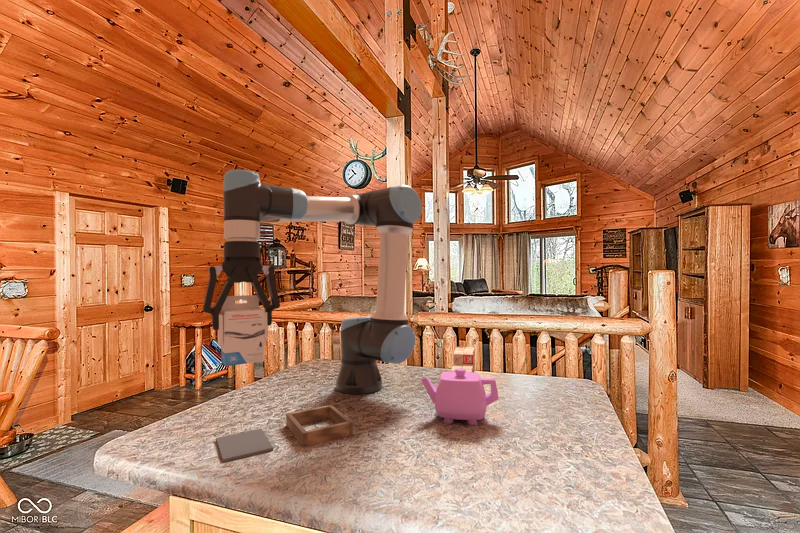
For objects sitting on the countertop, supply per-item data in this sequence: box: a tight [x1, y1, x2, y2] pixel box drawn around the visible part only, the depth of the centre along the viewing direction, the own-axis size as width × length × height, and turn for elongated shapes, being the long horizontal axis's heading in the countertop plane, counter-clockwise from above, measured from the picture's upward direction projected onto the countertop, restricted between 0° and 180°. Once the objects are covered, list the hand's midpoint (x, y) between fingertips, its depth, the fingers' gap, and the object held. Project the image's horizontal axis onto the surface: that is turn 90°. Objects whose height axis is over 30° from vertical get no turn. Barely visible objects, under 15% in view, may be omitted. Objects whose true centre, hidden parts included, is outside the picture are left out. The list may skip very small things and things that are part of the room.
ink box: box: [220, 294, 266, 367], centre depth 88 cm, size 8×5×15 cm, turn 123°
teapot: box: [420, 368, 499, 426], centre depth 104 cm, size 20×12×13 cm, turn 80°
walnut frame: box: [285, 404, 354, 448], centre depth 96 cm, size 12×14×3 cm
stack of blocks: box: [450, 346, 476, 373], centre depth 125 cm, size 21×6×12 cm, turn 167°
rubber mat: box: [215, 428, 274, 463], centre depth 88 cm, size 10×12×1 cm
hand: (243, 342), depth 88 cm, fingers closed on ink box, 8 cm apart
